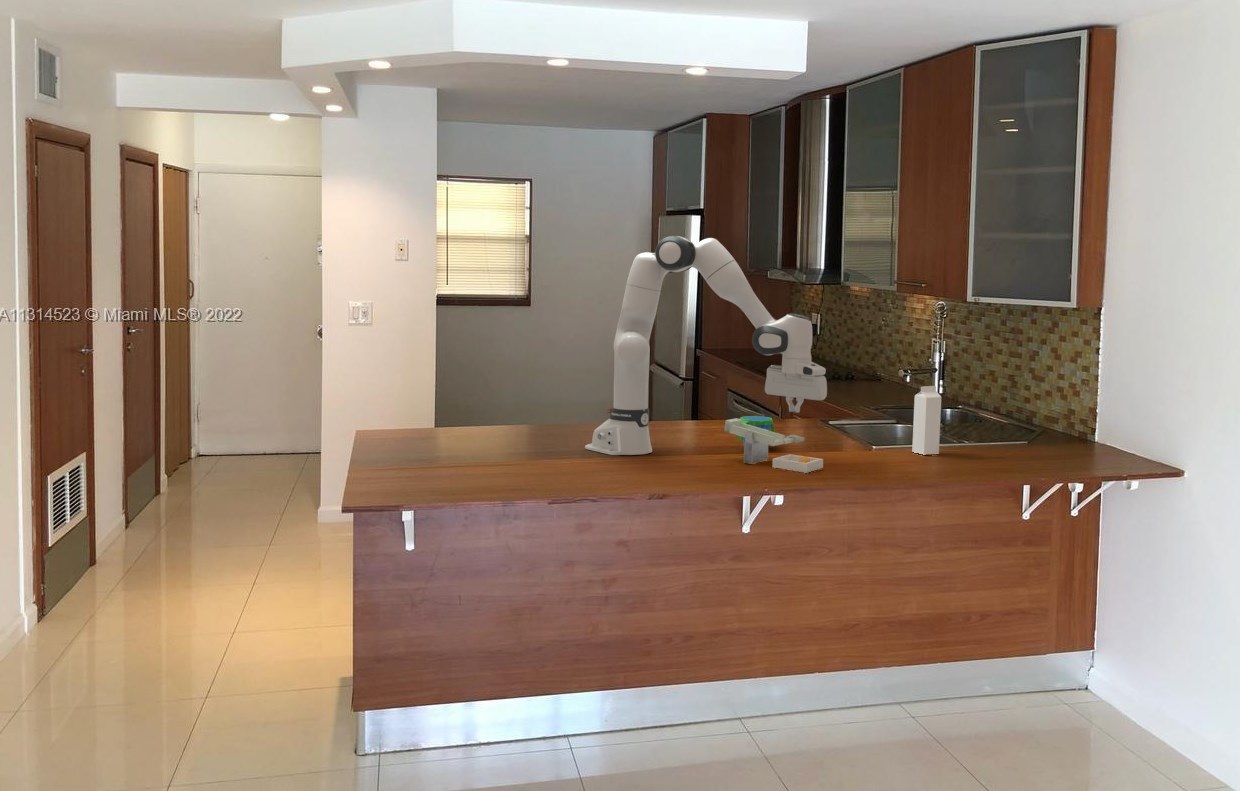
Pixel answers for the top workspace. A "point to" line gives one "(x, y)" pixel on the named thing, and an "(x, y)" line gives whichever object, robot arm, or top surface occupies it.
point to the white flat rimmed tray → (797, 463)
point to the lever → (759, 433)
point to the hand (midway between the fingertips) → (794, 411)
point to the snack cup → (757, 423)
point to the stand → (754, 449)
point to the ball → (804, 459)
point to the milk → (926, 421)
